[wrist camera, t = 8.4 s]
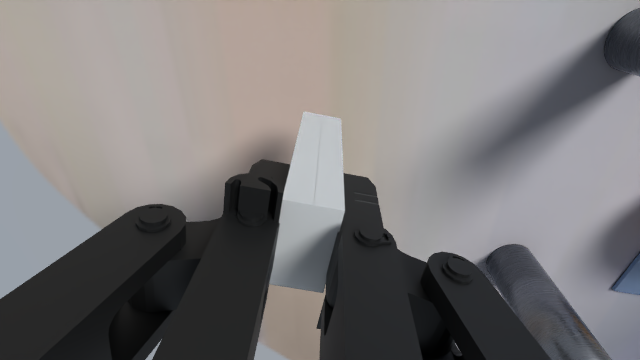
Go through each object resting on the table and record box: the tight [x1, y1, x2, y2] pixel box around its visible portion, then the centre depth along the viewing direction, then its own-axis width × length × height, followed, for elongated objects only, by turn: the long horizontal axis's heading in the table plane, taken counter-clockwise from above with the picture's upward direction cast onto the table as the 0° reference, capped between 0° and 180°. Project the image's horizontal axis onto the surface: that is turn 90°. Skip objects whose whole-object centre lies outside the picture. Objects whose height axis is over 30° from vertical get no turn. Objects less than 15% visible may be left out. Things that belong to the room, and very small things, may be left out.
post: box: [487, 244, 611, 360], centre depth 17 cm, size 3×3×9 cm
